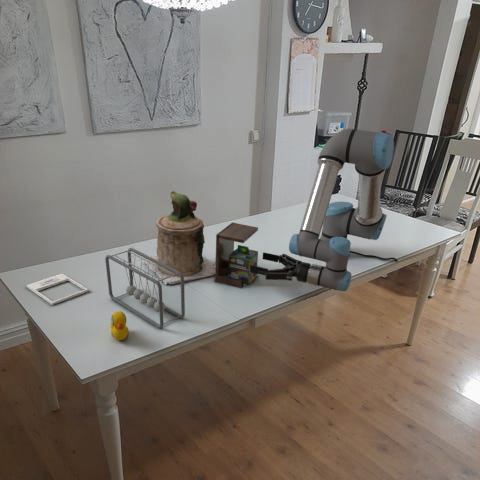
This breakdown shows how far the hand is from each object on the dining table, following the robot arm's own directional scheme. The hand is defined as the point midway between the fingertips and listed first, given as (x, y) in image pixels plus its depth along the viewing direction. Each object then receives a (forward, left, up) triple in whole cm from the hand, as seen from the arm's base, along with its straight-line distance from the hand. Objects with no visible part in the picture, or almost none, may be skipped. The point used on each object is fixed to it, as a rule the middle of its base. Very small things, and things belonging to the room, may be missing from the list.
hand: (256, 261), depth 183 cm
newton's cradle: (+38, +26, -9) cm, 47 cm away
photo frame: (+74, +17, -9) cm, 76 cm away
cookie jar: (+31, -8, -9) cm, 34 cm away
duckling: (+42, +45, -9) cm, 63 cm away
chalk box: (+5, -2, -9) cm, 11 cm away
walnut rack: (+8, -3, -9) cm, 13 cm away
